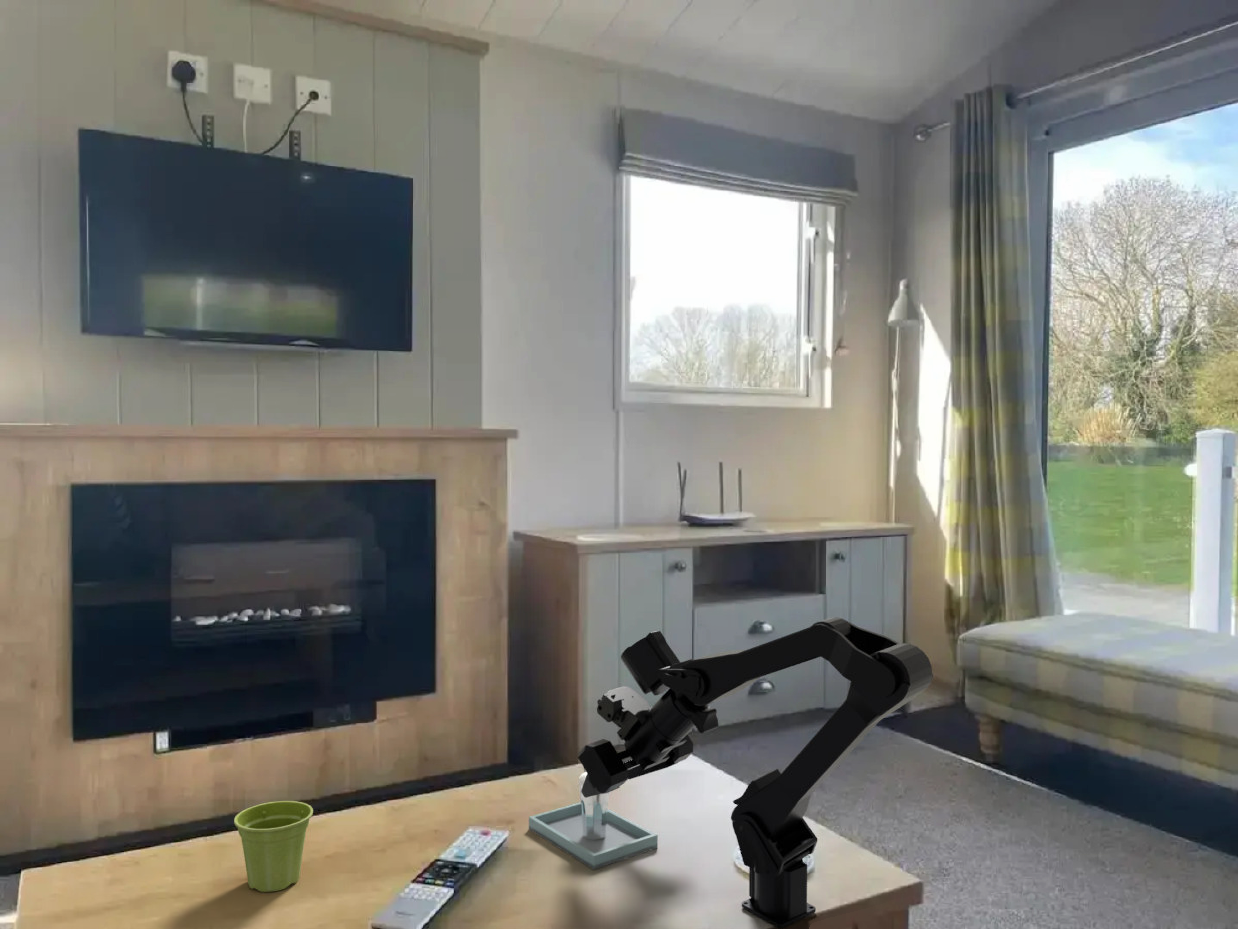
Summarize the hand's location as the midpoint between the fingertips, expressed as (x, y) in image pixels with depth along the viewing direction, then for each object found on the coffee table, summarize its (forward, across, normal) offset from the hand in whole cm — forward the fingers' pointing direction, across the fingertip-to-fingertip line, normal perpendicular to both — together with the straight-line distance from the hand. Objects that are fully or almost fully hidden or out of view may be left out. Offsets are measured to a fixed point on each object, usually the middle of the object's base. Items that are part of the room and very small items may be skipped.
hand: (606, 785), depth 129 cm
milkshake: (+8, 0, +4) cm, 8 cm away
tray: (+8, 0, +4) cm, 9 cm away
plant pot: (+23, +36, -11) cm, 45 cm away
